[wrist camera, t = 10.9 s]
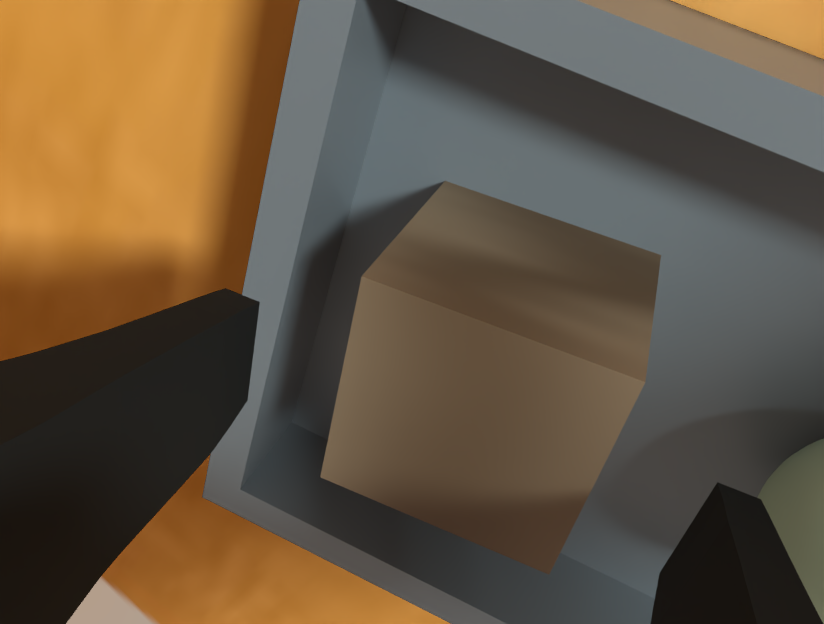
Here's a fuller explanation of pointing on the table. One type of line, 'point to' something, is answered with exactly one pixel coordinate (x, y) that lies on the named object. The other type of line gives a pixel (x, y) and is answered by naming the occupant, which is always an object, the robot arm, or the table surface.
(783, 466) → the green ball
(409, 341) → the walnut cube
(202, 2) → the table surface
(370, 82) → the serving tray
